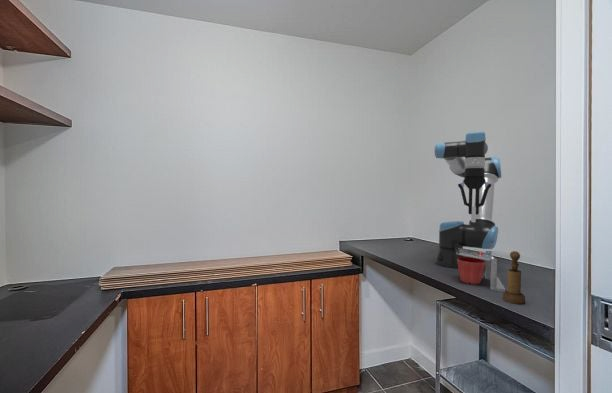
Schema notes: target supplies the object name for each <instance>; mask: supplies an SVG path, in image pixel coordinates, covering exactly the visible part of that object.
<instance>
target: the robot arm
mask: <svg viewBox="0 0 612 393" xmlns="http://www.w3.org/2000/svg"><path fill="white" fill-rule="evenodd" d="M487 153H488V143H487V142H486V132H484V131H483V130H482V131H480V130H476V131H470V132H467V133H466V134H465V140H461V141H450V142H449V141H448V142H446V141H445V142H443V141H442V142H437V143H436V144H435V146H434V157H435V158H436V159H441V160H442V159H444V160H445V162H446V163H447V165H449V170H450V171H451V172H452V173H453V174H454V175H455V176H456V175H457V176H458V177H461V178H464V179H463V180H462V182H460V183H458V184H457V186H458V188H459V189H460V194H461V197H462V200H463V204H464V206H466V207H468V215H471V216H470V220H469V222H468V224H465V223H464V221H459V220H458V221H457V220H456V221H445V222H441V223H440V224H439V230H438V233H439V234H438V235H439V236H438V238H439V239H438V251H437V254H436V256H435V261H434V263H435V265H438V266H442V267H445V268H453V269H458V262H457V258H458V257H466V256H463V255H457V254H456V247H458V248H463V249H464V247H465V248H474V249H482V250H492V249H494V248H495V247H496V244H497V241H498V235H499V227H498V226H496V223H495V222H494V221H493V210H494V196H495V184H496V183H498V181H499V179H502V168H501V161H500V160H501V159H500V158H498V157H496V156H495V157H492V156H490V157H486V154H487ZM464 187H467V189H468V200H467V197H466V193H465V189H464ZM473 190H475V194H474V205H473V192H474V191H473Z"/></svg>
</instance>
